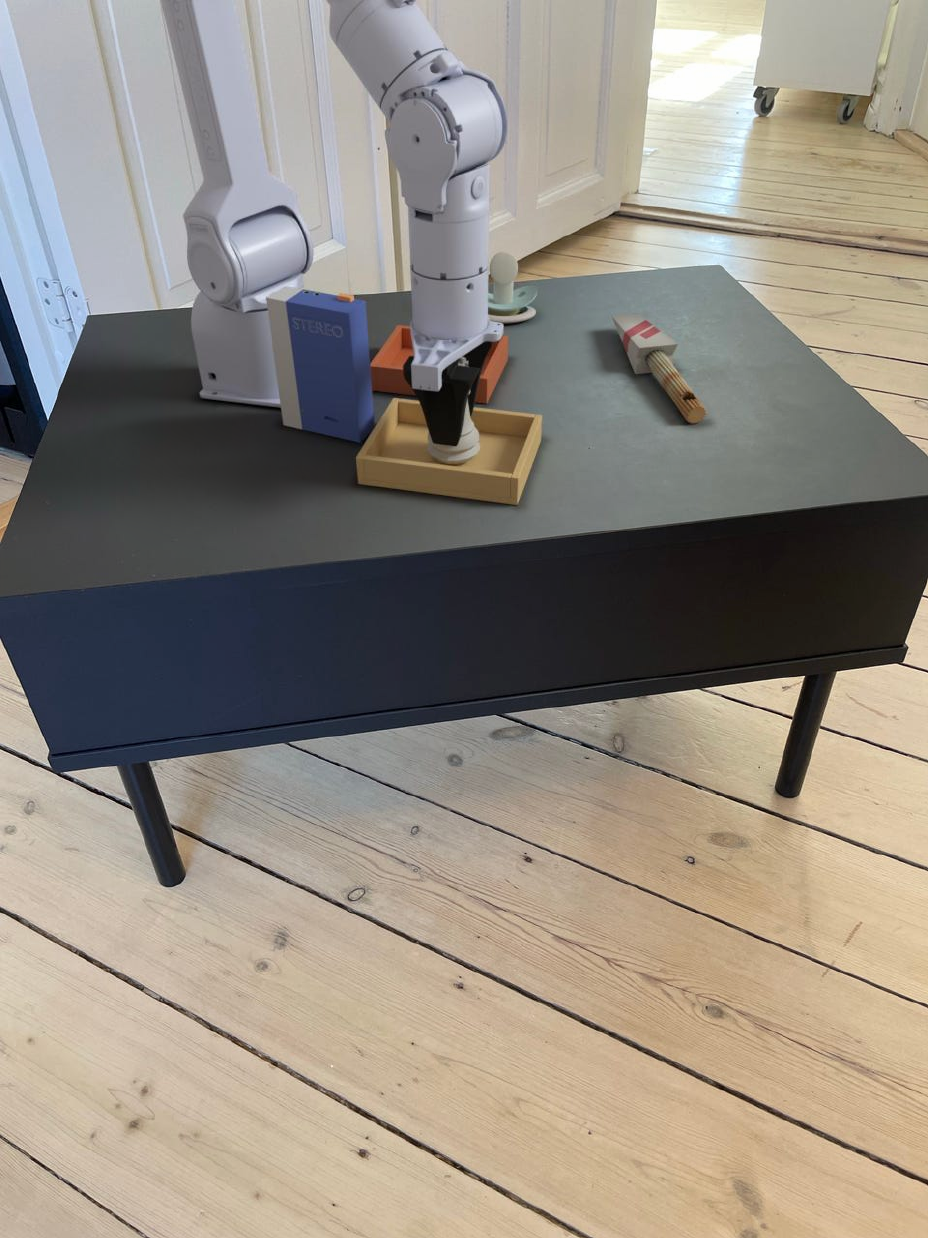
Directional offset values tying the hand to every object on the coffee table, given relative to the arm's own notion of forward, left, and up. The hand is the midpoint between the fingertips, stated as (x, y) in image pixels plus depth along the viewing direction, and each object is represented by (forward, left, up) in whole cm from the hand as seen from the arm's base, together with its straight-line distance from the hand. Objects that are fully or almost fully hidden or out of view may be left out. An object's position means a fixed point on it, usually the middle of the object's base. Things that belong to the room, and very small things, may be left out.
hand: (451, 430), depth 79 cm
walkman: (-12, +3, -3) cm, 13 cm away
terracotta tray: (-5, +15, -3) cm, 16 cm away
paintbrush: (+15, +20, -3) cm, 25 cm away
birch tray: (0, 0, -3) cm, 3 cm away
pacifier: (-2, +30, -3) cm, 30 cm away
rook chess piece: (0, 0, -2) cm, 2 cm away
